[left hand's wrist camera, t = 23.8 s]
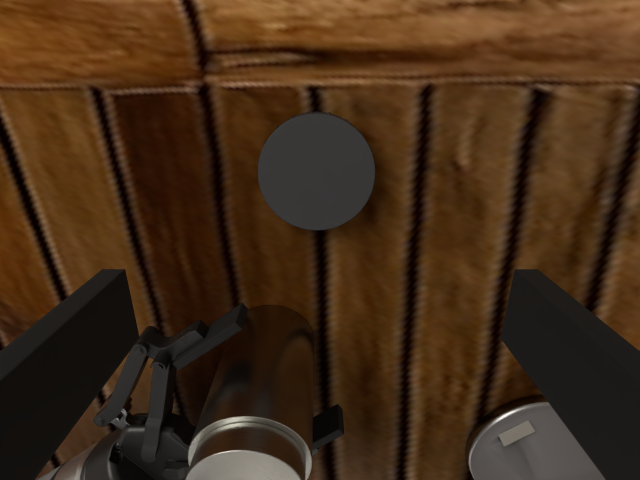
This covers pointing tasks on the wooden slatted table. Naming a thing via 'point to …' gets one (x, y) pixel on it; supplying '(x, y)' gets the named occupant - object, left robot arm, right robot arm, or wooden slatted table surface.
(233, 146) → the wooden slatted table surface
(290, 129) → the lid
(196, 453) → the jar
